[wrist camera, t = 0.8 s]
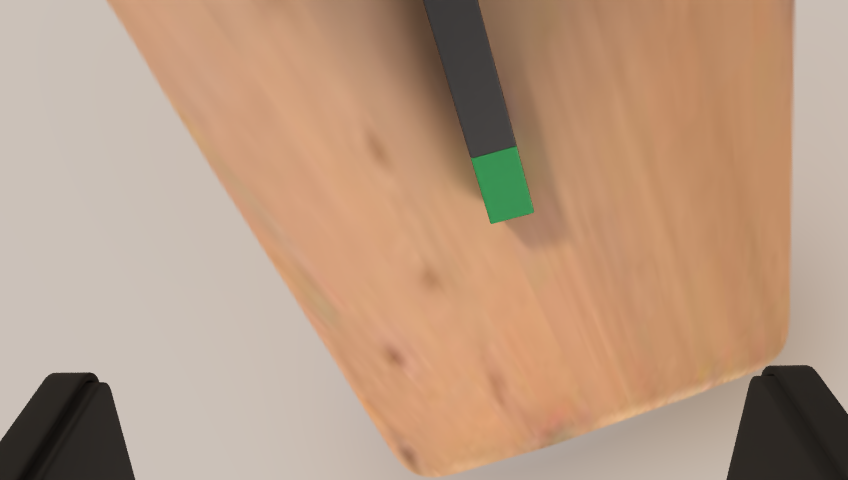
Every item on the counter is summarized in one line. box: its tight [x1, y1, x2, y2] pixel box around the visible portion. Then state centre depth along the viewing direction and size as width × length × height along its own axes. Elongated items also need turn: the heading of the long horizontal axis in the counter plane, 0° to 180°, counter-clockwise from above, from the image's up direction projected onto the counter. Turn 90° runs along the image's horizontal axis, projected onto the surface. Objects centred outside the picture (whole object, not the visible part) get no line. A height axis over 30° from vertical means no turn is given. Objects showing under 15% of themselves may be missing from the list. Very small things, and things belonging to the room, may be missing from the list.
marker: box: [423, 0, 534, 224], centre depth 38 cm, size 14×2×2 cm, turn 17°
